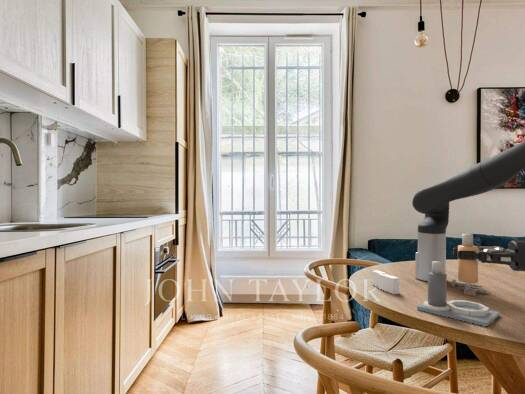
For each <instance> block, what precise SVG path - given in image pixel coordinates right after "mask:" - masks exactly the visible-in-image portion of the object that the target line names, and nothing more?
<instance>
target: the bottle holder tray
mask: <svg viewBox="0 0 525 394" xmlns="http://www.w3.org/2000/svg"><path fill="white" fill-rule="evenodd" d="M447 277H448V276H447V273H442V262H439V261H432V272H428V281H427V300H425V301H423V302H422V303H420V304H419V305H417V306H416V307H417V308H416V310H417V311H421V312H424V311H425V313H428V312H429V313H428V314H432V313H433V315H436V314H437V315H436V316H440V315H441V316H440V317H444V316H445V318H448V317H450V318H449V319H452V318H454V319H453V320H456V319H458V320H457V321H460V320H462V321H461V322H464V321H467V322H466V323H468V322H471V323H470V324H472V323H476V324H479V325H478V326H480V325H484V326H488V325H489V324H490V323H491V322H492V321H493V322H495V321H496V320H497V319H498V318H499V317H500V316H501V312H500V311H496V310H492V309H490V307H488V306H486V305H484V304H482V303H480V302H473V301H469V300H465V299H464V300H463V299H462V300H460V299H457V300H456V299H454V300H453V299H451V300H447V299H448V298H447V289H448V288H447V283H448V282H447V279H448V278H447ZM498 316H499V317H498ZM497 317H498V318H497ZM496 318H497V319H496ZM495 319H496V320H495ZM494 320H495V321H494ZM493 322H492V323H493ZM492 323H491V324H492ZM476 324H475V325H476ZM491 324H490V325H491ZM490 325H489V326H490ZM484 326H483V327H484ZM489 326H488V327H489Z"/></svg>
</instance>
